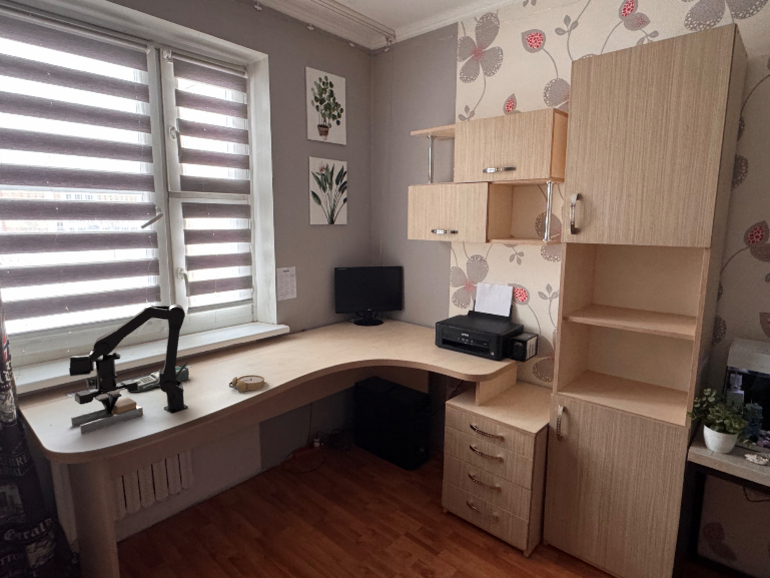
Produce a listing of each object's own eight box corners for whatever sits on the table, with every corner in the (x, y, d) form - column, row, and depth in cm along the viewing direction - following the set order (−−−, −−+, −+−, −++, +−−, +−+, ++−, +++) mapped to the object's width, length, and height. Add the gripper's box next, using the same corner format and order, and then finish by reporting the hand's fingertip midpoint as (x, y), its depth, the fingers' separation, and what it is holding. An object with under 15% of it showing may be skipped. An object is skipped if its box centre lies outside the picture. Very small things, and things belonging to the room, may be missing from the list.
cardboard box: (137, 414, 166) (136, 401, 165) (119, 420, 161) (117, 407, 161) (129, 409, 171) (128, 397, 170) (111, 415, 166) (110, 402, 165)
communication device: (123, 389, 193) (120, 369, 191) (179, 374, 210) (178, 355, 209) (133, 396, 185) (131, 375, 183) (191, 380, 202) (189, 361, 201)
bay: (143, 415, 166) (142, 407, 166) (82, 434, 151) (81, 425, 151) (131, 407, 173) (130, 400, 172) (71, 425, 158) (71, 417, 157)
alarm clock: (269, 380, 194) (235, 382, 184) (268, 392, 194) (233, 394, 184) (258, 373, 202) (225, 375, 193) (257, 384, 202) (223, 386, 193)
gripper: (125, 361, 172) (127, 400, 174) (67, 373, 158) (71, 416, 160) (137, 367, 165) (140, 408, 167) (78, 381, 151) (82, 425, 153)
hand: (109, 414), depth 162 cm, fingers closed
